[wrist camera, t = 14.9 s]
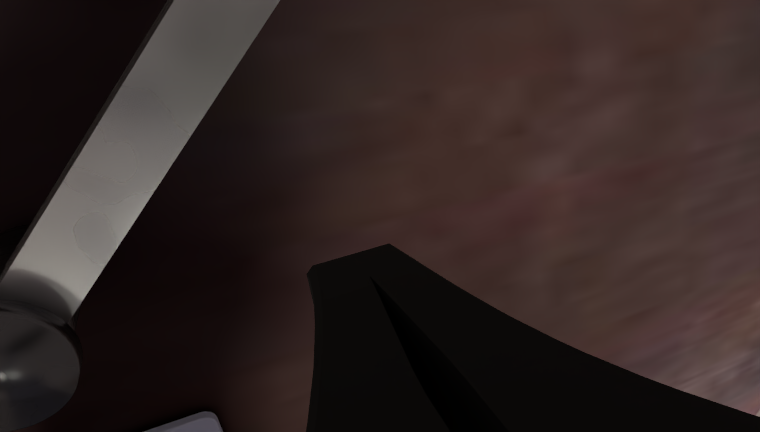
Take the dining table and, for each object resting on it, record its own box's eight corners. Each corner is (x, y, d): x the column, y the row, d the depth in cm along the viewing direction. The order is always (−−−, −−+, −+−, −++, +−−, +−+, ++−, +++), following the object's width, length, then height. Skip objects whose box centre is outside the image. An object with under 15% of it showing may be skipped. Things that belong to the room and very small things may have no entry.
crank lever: (329, -357, 12) (409, -497, 8) (432, -229, 13) (542, -291, 9) (-53, 287, 15) (-130, 415, 11) (67, 326, 17) (37, 449, 13)
